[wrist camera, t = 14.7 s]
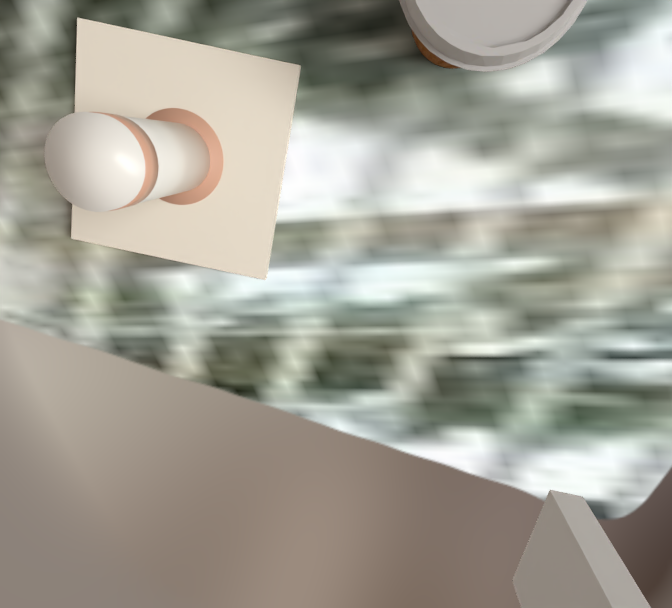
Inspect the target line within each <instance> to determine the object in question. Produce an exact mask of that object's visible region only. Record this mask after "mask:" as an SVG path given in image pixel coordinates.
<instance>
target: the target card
mask: <svg viewBox="0 0 672 608" xmlns="http://www.w3.org/2000/svg"><path fill="white" fill-rule="evenodd" d="M300 70H301V66H300V65H296V64H292V63H287V62H282V61H278V60H273V59H268V58H264V57H259V56H254V55H250V54H245V53H240V52H235V51H231V50H226V49H221V48H217V47H212V46H207V45H203V44H198V43H193V42H189V41H184V40H179V39H175V38H170V37H165V36H161V35H156V34H151V33H147V32H142V31H137V30H133V29H128V28H123V27H119V26H114V25H109V24H105V23H100V22H95V21H91V20H86V19H81V18H77V45H76V82H75V113H76V112H101V113H109V114H117V115H120V116H126V117H134V118H143V119H151V120H159V121H167V122H176V123H182V124H185V125H188V126H190V127H191V128H193V129H194V130H196V131H197V132H198V133H199V134H200V135H201V136H202V138H203V139H204V141H205V142H206V145H207V147H208V150H209V154H210V167H209V171H208V174H207V176H206V178H205V179H204V181H203V182H202V183H201V184H200V185H199V186H198V187H196V188H194V189H192V190H189V191H186V192H182V193H178V194H174V195H170V196H166V197H162V198H158V199H154V200H150V201H146V202H142V203H138V204H136V205H133V206H129V207H126V208H122V209H118V210H113V211H105V212H93V211H88V210H84V209H82V208H79V207H77V206H75V205H74V204H72V228H71V239H75V240H80V241H85V242H90V243H94V244H99V245H104V246H108V247H113V248H118V249H122V250H127V251H132V252H137V253H141V254H146V255H151V256H155V257H160V258H165V259H170V260H174V261H179V262H184V263H188V264H193V265H198V266H202V267H207V268H212V269H217V270H221V271H226V272H231V273H235V274H240V275H245V276H249V277H254V278H259V279H264V280H266V278H267V274H268V268H269V261H270V255H271V249H272V243H273V237H274V231H275V225H276V218H277V212H278V206H279V200H280V194H281V188H282V181H283V175H284V169H285V163H286V157H287V151H288V144H289V138H290V132H291V126H292V120H293V114H294V107H295V101H296V95H297V89H298V83H299V77H300Z"/></svg>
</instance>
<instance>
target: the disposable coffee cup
mask: <svg viewBox="0 0 672 608" xmlns="http://www.w3.org/2000/svg"><path fill="white" fill-rule="evenodd" d="M399 1H400V4H401V7H402V9H403V12H404V14H405V17H406V19H407V22H408V24H409V25H410V27H411V29H412V34H413V38H414V40H415V43H416V45H417V47H418V49H419V50H420V52H421V53H422V54H423V55H424V56H425V57H426V58H427V59H428V60H429V61H431V62H433V63H434V64H436V65H439V66H441V67H445V68H452V69H453V68H464V69H467V70H472V71H485V72H489V71H498V70H506V69H510V68H513V67H516V66H518V65H521V64H524V63H526V62H528V61H530V60H532V59H533V58H535V57H537V56H539V55H540V54H542V53H544V52H545V51H546V50H547V49H549V48H550V47H551V46H552V45H553V44H555V43H556V42H557V41H558V40H559V39H560V38H561V37H562V36H563V35H564V34H565V33H566V31H567V30H568V29H569V28H570V27H571V26H572V25H573V24H574V22H575V20H576V19H577V17H578V15H579V14H580V12H581V11H582V9H583V7H584V6H585V4H586V2H587V0H399Z"/></svg>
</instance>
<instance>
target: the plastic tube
mask: <svg viewBox="0 0 672 608" xmlns="http://www.w3.org/2000/svg"><path fill="white" fill-rule="evenodd" d="M44 159H45V165H46V169H47V172H48V175H49V177H50V179H51V181H52V183H53V185H54V186H55V188H56V189H57V190H58V192H59V193H60V194H61V195H62V196H63V197H64V198H65V199H66V200H68V201H69V202H71V203H72V204H74V205H75V206H77V207H79V208H82V209H84V210H88V211H93V212H105V211H113V210H118V209H122V208H126V207H129V206H133V205H136V204H138V203H142V202H146V201H150V200H154V199H158V198H162V197H166V196H170V195H174V194H178V193H182V192H186V191H189V190H192V189H194V188H196V187H198V186H199V185H200V184H201V183H202V182H203V181H204V179H205V178H206V176H207V174H208V171H209V167H210V154H209V150H208V147H207V145H206V142H205V141H204V139H203V138H202V136H201V135H200V134H199V133H198V132H197V131H196V130H194V129H193V128H191V127H190V126H188V125H185V124H182V123H176V122H167V121H159V120H151V119H143V118H134V117H126V116H120V115H117V114H109V113H101V112H76V113H72V114H69V115H67V116H65V117H63V118H62V119H60V120H59V121H58V122H57V123H56V124H55V125H54V126H53V127H52V129H51V130H50V132H49V134H48V136H47V139H46V143H45V149H44Z"/></svg>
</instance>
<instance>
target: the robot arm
mask: <svg viewBox="0 0 672 608" xmlns="http://www.w3.org/2000/svg"><path fill="white" fill-rule="evenodd" d="M512 581H513V585H514V587H515V591H516V594H517V597H518V599H519V602H520V605H521V608H651V607H650V606H649V604H648V603H647V601H646V599H645V598H644V596H643V594H642V593H641V591H640V589H639V588H638V586H637V584H636V583H635V581H634V580H633V578H632V576H631V575H630V573H629V571H628V570H627V568H626V566H625V565H624V563H623V562H622V560H621V558H620V557H619V555H618V553H617V552H616V550H615V549H614V547H613V545H612V544H611V542H610V541H609V539H608V537H607V535H606V534H605V532H604V531H603V529H602V527H601V526H600V524H599V522H598V521H597V519H596V518H595V516H594V514H593V513H592V511H591V509H590V508H589V506H588V504H587V503H586V501H585V500H584V498H583V497H581V496H577V495H572V494H567V493H563V492H558V491H553V490H550V491H549V493H548V496H547V498H546V501H545V503H544V505H543V508H542V510H541V513H540V515H539V517H538V520H537V522H536V524H535V527H534V529H533V532H532V534H531V536H530V539H529V541H528V544H527V546H526V548H525V552H524V553H523V556H522V558H521V560H520V563H519V565H518V568H517V570H516V572H515V575H514V578H513V580H512Z"/></svg>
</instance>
